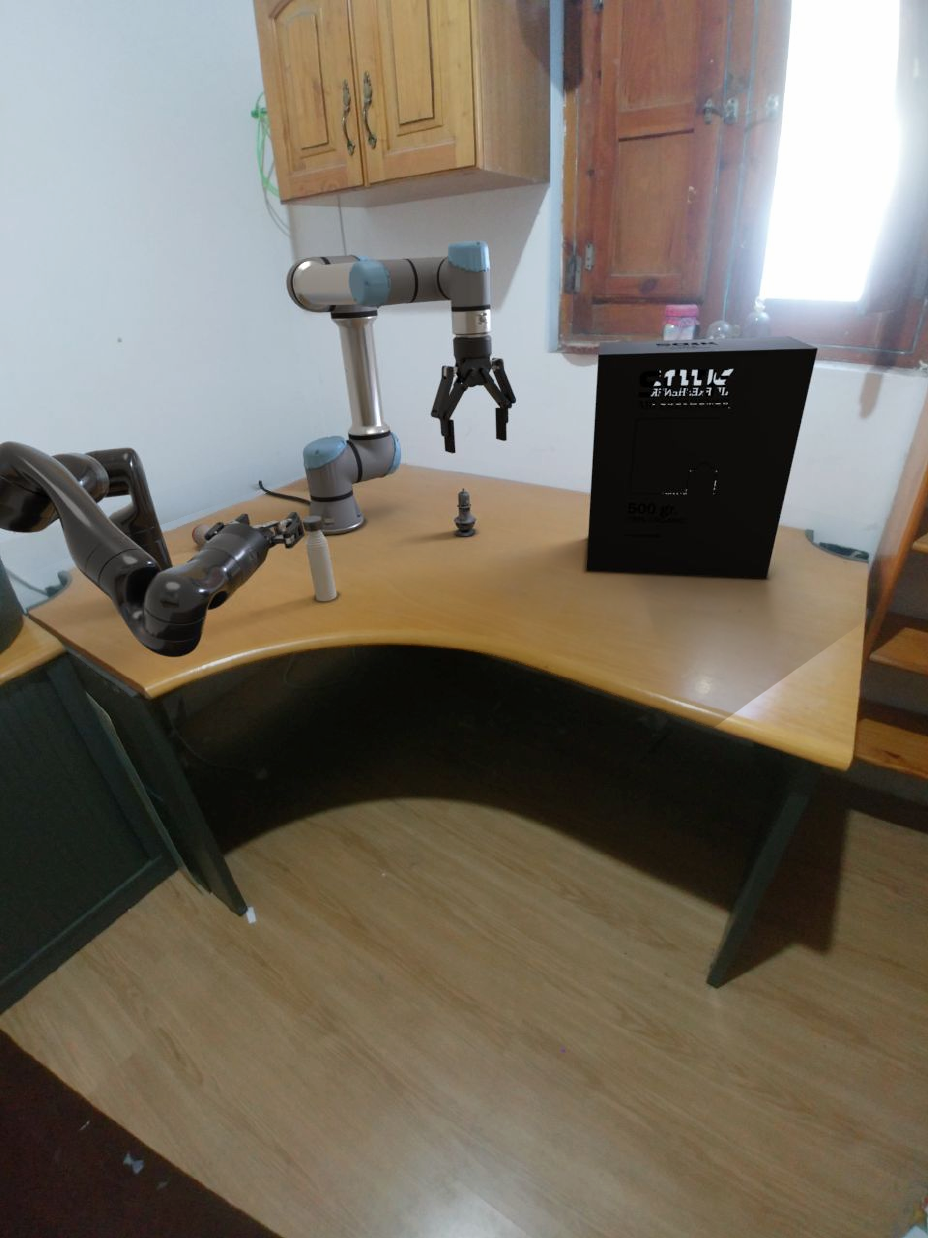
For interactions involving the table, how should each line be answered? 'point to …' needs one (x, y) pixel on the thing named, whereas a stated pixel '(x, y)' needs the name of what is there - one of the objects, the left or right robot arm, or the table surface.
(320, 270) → the right robot arm
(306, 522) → the cap
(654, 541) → the cardboard box
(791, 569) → the table surface
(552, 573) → the table surface
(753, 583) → the table surface
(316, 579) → the bottle
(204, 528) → the eyeball
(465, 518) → the salt shaker
